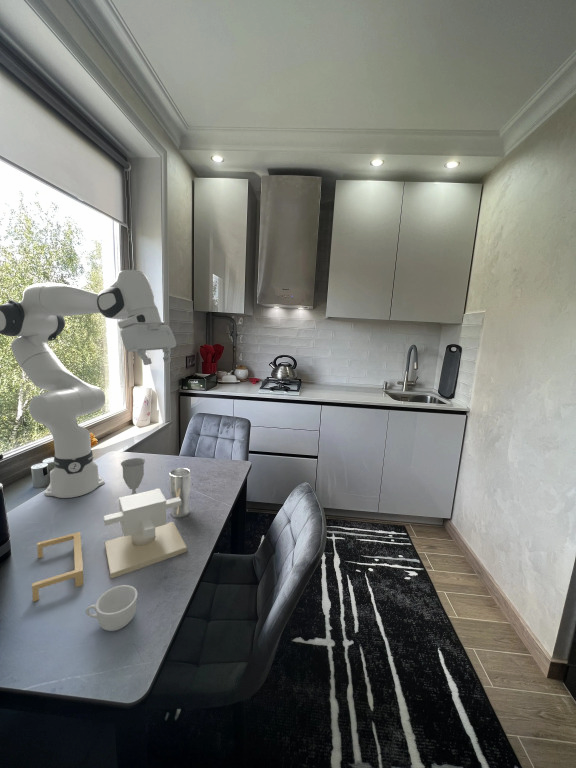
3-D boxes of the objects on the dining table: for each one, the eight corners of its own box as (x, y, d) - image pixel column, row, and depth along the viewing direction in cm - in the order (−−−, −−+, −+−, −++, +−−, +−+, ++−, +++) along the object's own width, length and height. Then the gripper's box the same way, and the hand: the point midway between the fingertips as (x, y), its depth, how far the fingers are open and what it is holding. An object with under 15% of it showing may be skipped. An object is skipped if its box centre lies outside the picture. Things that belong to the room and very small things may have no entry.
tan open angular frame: (33, 601, 71) (32, 586, 70) (38, 556, 85) (37, 542, 84) (83, 584, 77) (83, 570, 76) (80, 544, 90) (80, 531, 90)
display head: (103, 546, 90) (101, 501, 87) (174, 525, 101) (173, 485, 98) (109, 579, 78) (107, 528, 76) (187, 551, 90) (187, 506, 87)
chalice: (122, 519, 102) (120, 468, 99) (122, 509, 108) (120, 459, 105) (147, 515, 105) (145, 464, 102) (145, 504, 111) (144, 457, 108)
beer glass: (184, 520, 104) (184, 478, 101) (165, 516, 105) (164, 475, 103) (194, 509, 110) (194, 469, 108) (176, 505, 112) (176, 466, 109)
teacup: (141, 603, 72) (141, 582, 71) (132, 634, 65) (131, 612, 64) (94, 608, 70) (92, 587, 69) (78, 642, 63) (77, 618, 62)
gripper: (159, 324, 110) (170, 362, 111) (112, 322, 91) (126, 368, 92) (174, 319, 108) (185, 358, 109) (129, 316, 89) (143, 363, 90)
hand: (158, 363), depth 100 cm, fingers open, 8 cm apart
